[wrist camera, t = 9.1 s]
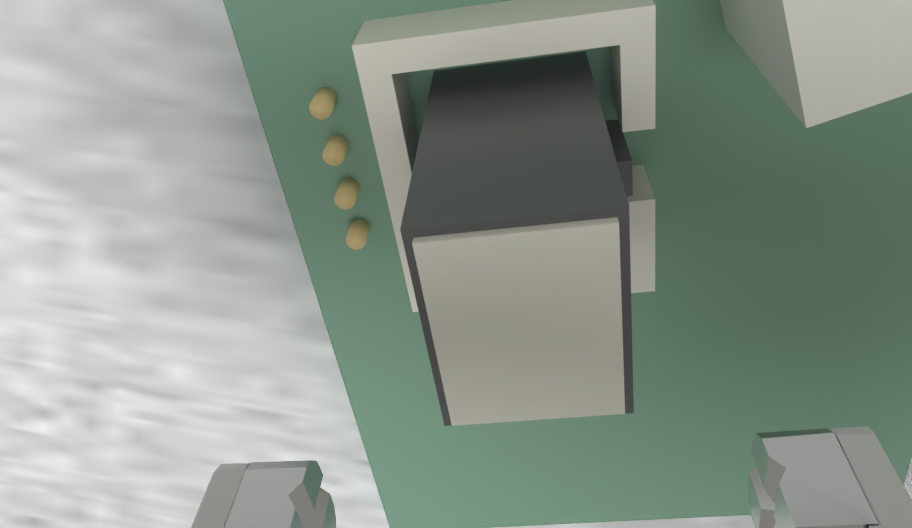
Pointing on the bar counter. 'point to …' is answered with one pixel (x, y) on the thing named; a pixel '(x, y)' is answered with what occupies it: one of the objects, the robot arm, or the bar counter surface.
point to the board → (651, 253)
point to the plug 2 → (827, 51)
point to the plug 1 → (522, 243)
